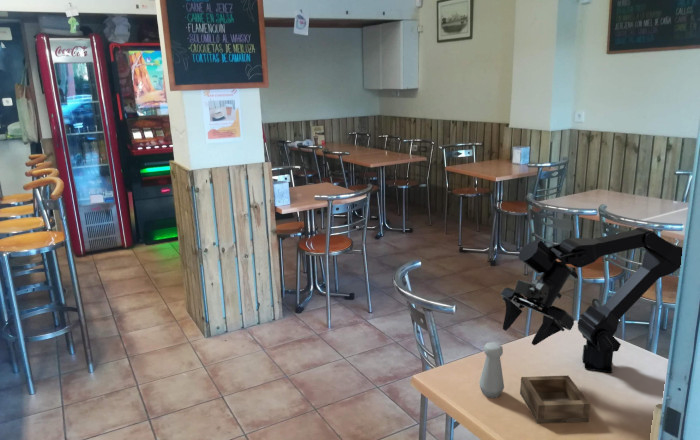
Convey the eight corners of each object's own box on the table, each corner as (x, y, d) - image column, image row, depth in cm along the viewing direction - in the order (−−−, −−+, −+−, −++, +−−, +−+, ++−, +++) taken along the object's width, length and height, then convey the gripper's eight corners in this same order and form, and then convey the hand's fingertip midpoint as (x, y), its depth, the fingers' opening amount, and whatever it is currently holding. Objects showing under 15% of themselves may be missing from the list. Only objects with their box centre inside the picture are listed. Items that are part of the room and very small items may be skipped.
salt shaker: (504, 401, 123) (507, 352, 119) (479, 399, 124) (481, 350, 121) (502, 387, 128) (505, 340, 125) (478, 385, 130) (480, 338, 126)
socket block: (566, 391, 126) (568, 375, 125) (588, 421, 115) (590, 403, 114) (520, 393, 126) (521, 377, 125) (537, 423, 115) (538, 405, 114)
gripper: (505, 257, 132) (473, 309, 130) (567, 278, 116) (531, 337, 114) (527, 278, 138) (496, 328, 136) (588, 301, 122) (555, 358, 120)
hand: (518, 337), depth 126 cm, fingers open, 9 cm apart
